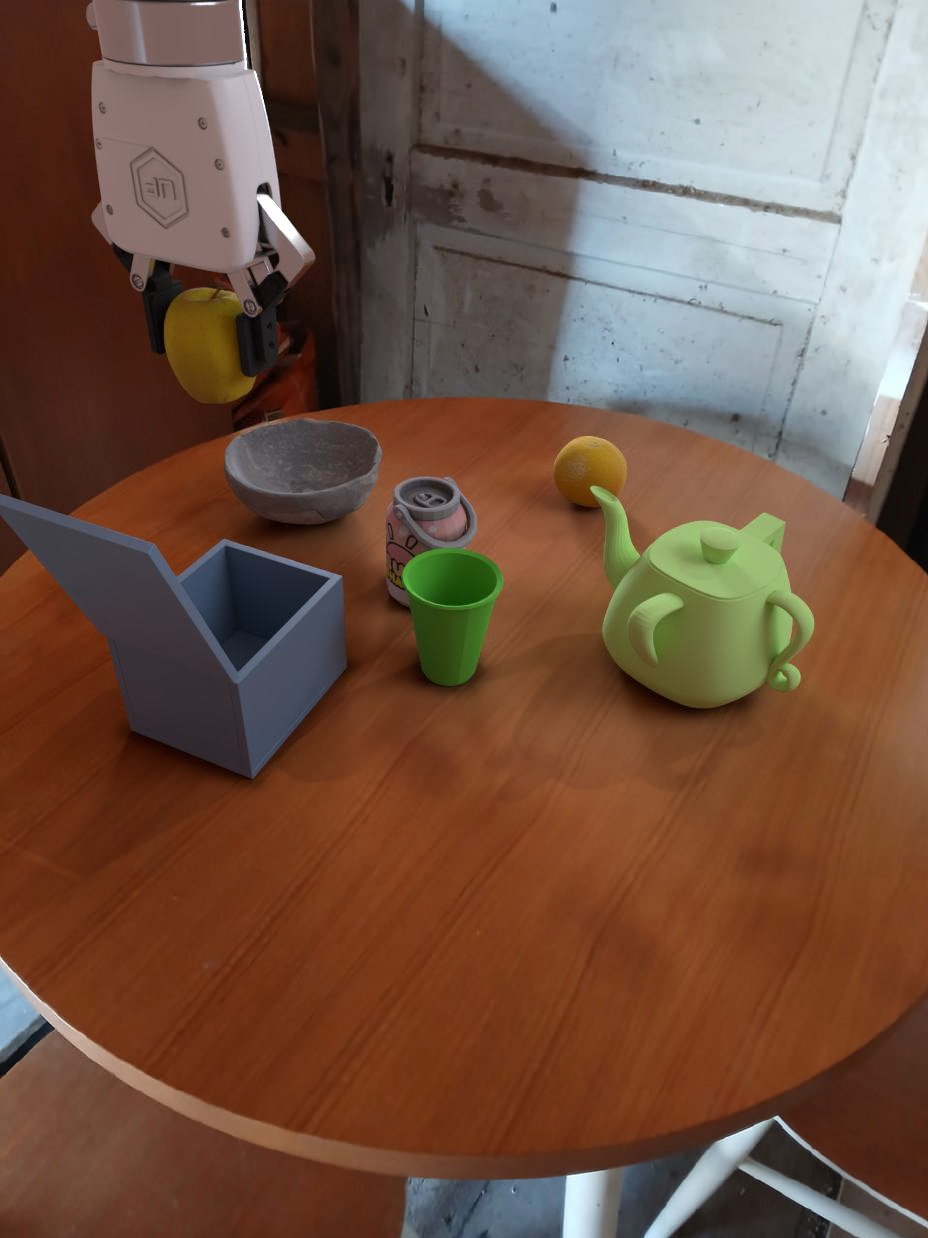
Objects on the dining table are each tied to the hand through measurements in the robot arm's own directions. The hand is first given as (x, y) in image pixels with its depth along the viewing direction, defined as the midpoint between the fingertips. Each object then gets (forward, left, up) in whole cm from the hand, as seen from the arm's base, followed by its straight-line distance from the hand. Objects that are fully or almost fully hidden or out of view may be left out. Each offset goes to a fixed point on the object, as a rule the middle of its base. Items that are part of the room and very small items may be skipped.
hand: (215, 355), depth 59 cm
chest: (+1, +3, -34) cm, 34 cm away
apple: (0, 0, -3) cm, 3 cm away
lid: (-9, +3, -15) cm, 17 cm away
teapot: (+26, -31, -34) cm, 53 cm away
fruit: (+49, -14, -34) cm, 61 cm away
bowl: (+31, +15, -34) cm, 49 cm away
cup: (+13, -12, -34) cm, 38 cm away
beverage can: (+23, -5, -34) cm, 41 cm away
